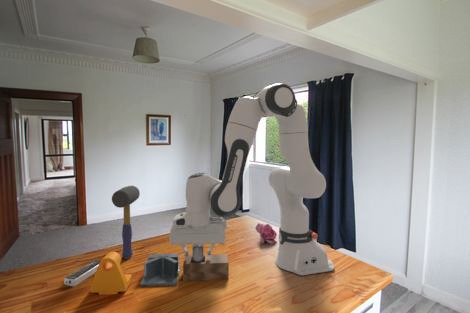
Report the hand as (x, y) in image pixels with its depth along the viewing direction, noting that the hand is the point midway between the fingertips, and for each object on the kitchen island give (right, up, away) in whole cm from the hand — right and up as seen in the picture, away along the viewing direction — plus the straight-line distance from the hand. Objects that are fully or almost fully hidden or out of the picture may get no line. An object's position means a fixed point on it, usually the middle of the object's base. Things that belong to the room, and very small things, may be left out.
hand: (198, 254), depth 94 cm
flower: (+29, -6, +36) cm, 46 cm away
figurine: (+5, -6, +35) cm, 36 cm away
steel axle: (0, -8, 0) cm, 8 cm away
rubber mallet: (-31, -7, +14) cm, 35 cm away
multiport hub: (-41, -8, +1) cm, 42 cm away
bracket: (-27, -8, -8) cm, 30 cm away
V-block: (-13, -8, -1) cm, 15 cm away
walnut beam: (+3, -8, +1) cm, 8 cm away
